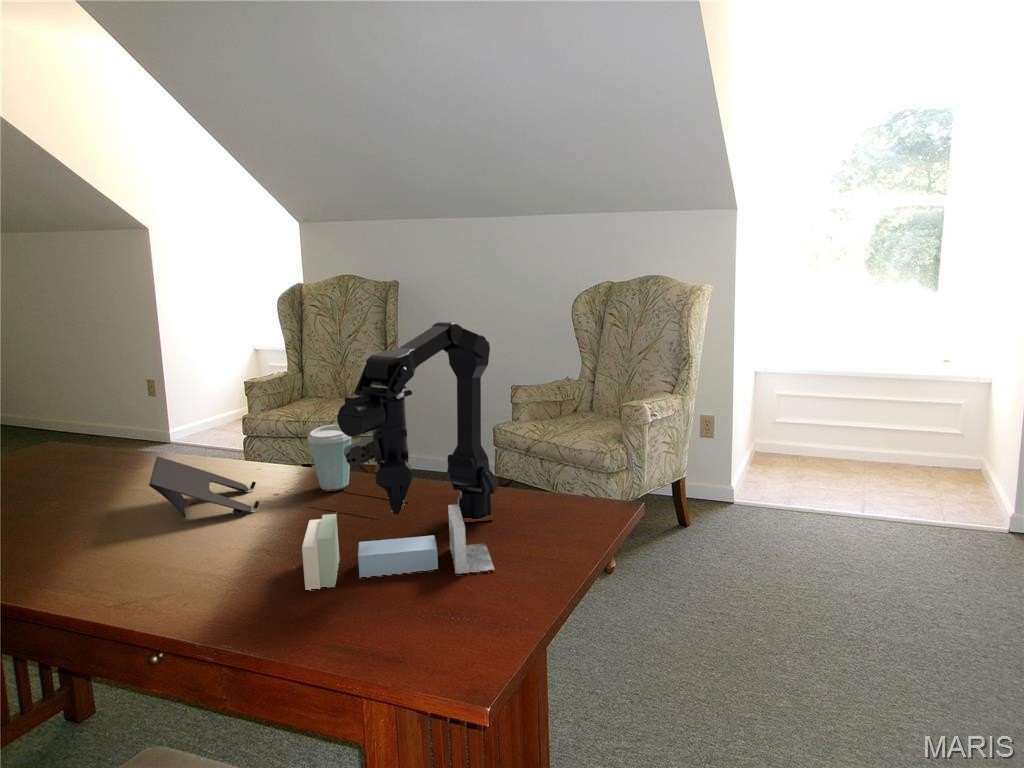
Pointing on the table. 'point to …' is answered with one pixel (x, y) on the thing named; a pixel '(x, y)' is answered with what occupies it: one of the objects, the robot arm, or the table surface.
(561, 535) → the table surface
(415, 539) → the light blue rectangular block
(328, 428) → the disposable coffee cup
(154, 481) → the portable electronic device stand
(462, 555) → the l-shaped bookend
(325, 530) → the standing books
